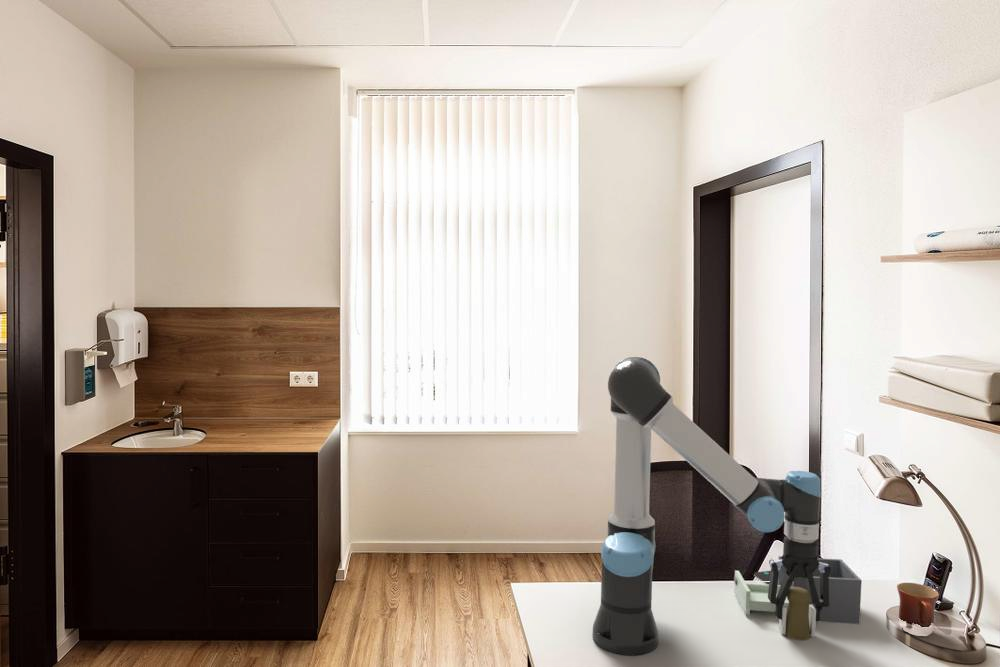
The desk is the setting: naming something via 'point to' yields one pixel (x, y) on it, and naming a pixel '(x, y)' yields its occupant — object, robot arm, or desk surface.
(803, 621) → the cork
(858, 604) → the grey drawer box
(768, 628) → the desk surface
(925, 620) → the mug
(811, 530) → the robot arm
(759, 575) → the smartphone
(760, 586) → the pale green drawer
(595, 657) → the desk surface
